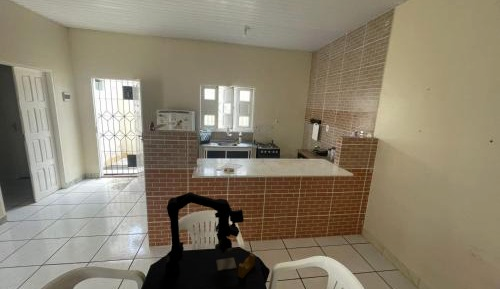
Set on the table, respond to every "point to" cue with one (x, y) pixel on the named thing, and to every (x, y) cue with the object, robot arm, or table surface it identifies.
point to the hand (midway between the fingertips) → (222, 250)
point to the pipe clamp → (246, 265)
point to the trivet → (226, 264)
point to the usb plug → (218, 250)
